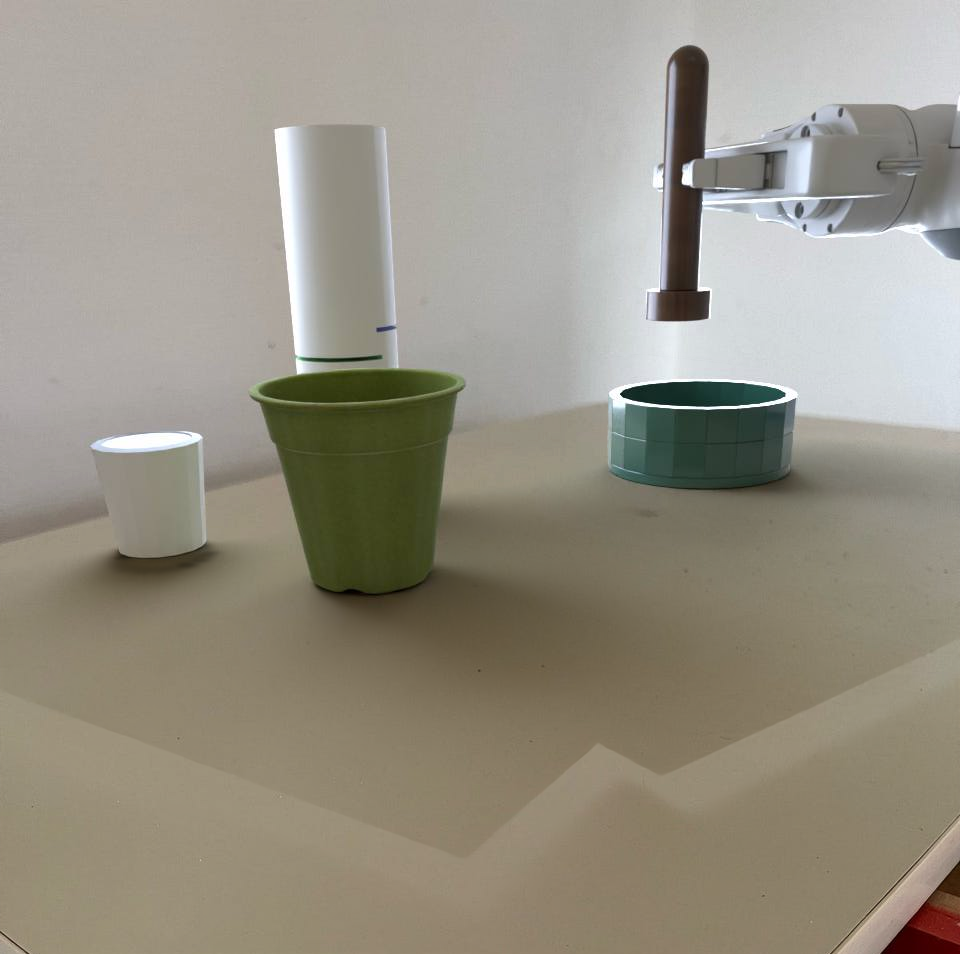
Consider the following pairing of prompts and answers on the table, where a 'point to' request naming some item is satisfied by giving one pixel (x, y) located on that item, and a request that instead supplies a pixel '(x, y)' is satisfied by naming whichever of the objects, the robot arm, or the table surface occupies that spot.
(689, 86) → the pestle
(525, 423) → the table surface
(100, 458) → the white short cylinder
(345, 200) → the cylindrical container
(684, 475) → the bowl
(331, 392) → the plant pot
